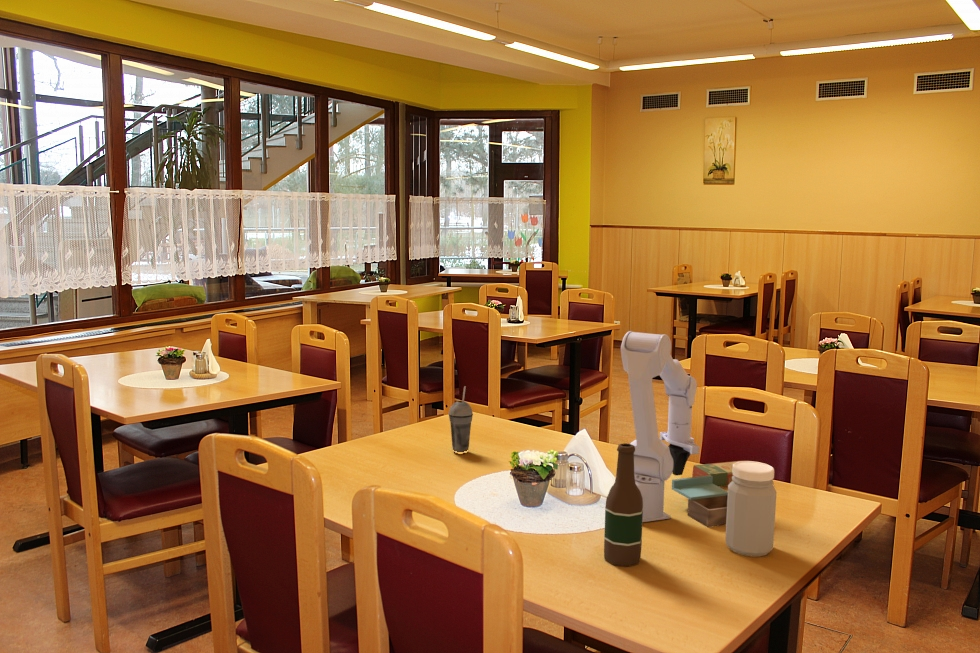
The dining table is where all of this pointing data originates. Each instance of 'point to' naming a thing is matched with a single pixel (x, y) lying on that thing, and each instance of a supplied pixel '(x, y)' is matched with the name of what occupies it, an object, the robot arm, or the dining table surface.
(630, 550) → the beer bottle
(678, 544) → the dining table surface
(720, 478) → the carton
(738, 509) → the jar
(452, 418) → the beverage cup
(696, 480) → the lid
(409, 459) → the dining table surface
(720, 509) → the box
